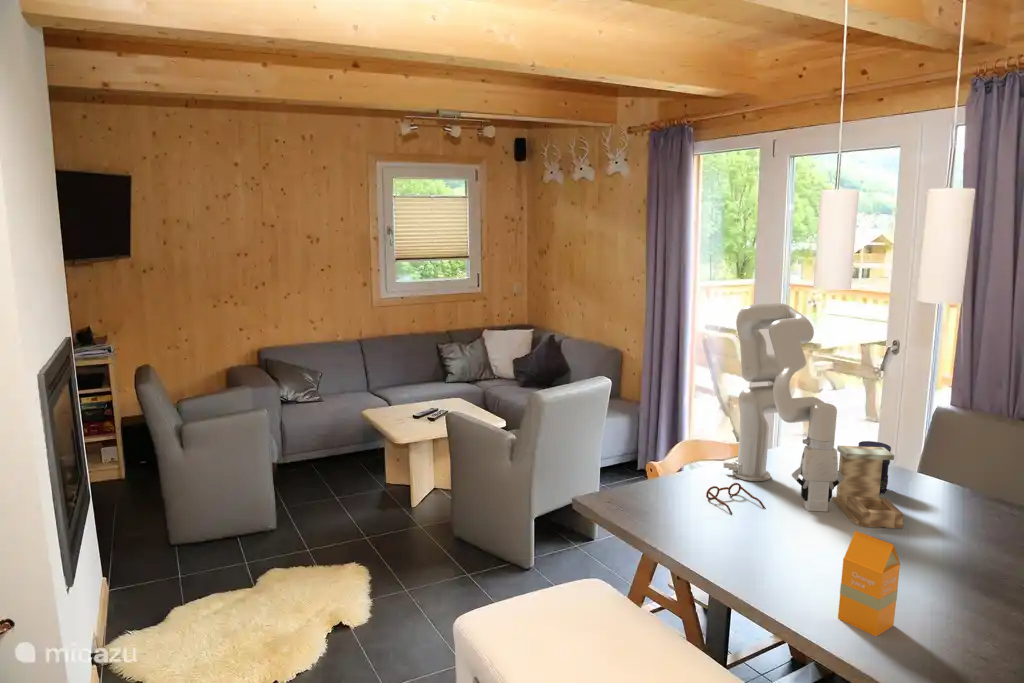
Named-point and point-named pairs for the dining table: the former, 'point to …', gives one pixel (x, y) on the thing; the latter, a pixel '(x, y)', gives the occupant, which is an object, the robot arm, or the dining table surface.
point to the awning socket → (865, 488)
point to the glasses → (730, 494)
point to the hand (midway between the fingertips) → (815, 499)
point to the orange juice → (869, 584)
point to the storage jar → (884, 465)
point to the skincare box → (817, 496)
